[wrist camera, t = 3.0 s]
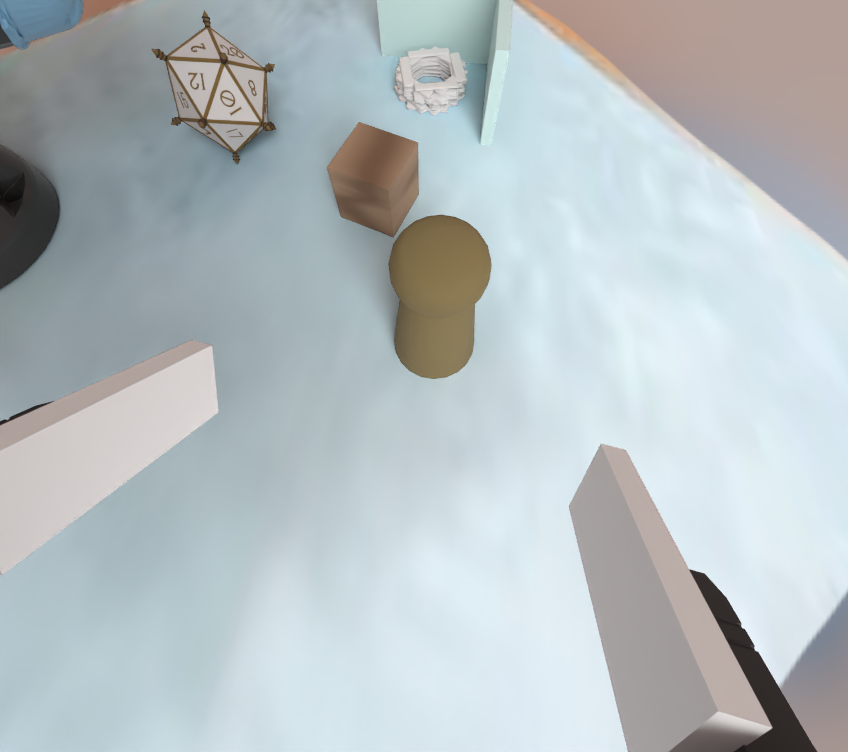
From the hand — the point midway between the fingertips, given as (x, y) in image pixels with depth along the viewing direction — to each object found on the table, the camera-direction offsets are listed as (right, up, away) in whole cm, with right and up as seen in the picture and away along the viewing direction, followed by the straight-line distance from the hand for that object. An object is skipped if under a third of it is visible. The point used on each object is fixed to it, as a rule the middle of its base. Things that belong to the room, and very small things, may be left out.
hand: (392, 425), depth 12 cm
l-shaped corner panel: (+2, +29, +24) cm, 38 cm away
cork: (+2, +4, +15) cm, 16 cm away
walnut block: (-3, +16, +19) cm, 25 cm away
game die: (-16, +24, +22) cm, 36 cm away
